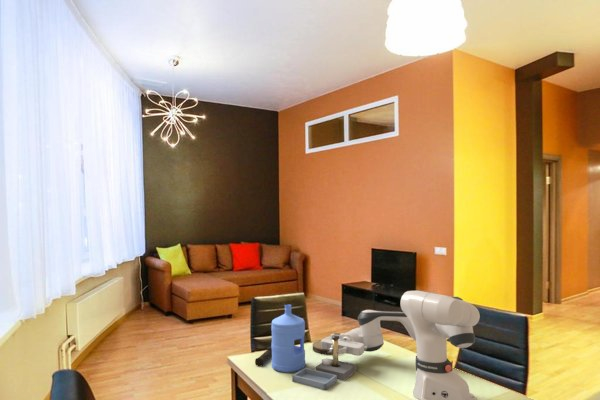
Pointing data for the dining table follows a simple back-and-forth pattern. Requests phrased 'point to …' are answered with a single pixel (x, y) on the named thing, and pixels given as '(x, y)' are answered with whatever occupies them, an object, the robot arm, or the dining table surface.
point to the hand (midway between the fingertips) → (334, 351)
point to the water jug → (288, 342)
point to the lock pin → (335, 350)
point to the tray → (314, 378)
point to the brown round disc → (320, 348)
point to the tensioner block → (342, 370)
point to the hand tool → (264, 357)
